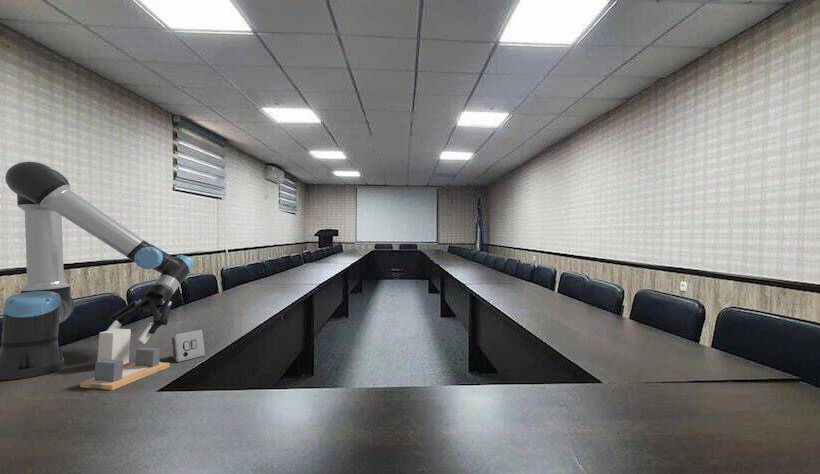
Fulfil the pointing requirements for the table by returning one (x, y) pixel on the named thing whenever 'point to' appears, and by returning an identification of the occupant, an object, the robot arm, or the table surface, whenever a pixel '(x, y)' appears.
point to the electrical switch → (188, 345)
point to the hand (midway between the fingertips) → (122, 340)
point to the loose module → (114, 345)
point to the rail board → (125, 370)
